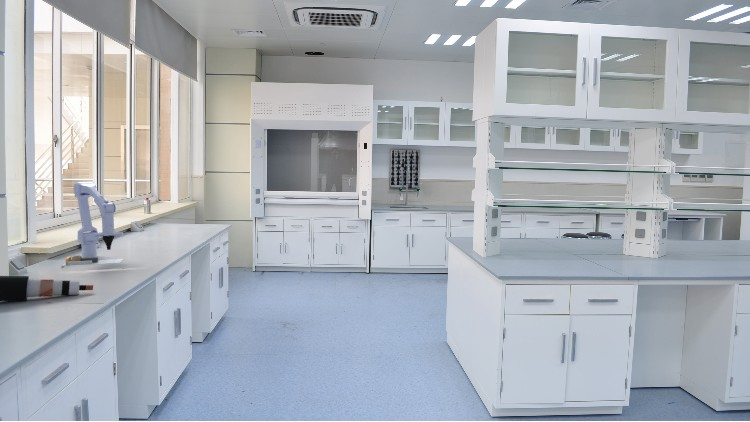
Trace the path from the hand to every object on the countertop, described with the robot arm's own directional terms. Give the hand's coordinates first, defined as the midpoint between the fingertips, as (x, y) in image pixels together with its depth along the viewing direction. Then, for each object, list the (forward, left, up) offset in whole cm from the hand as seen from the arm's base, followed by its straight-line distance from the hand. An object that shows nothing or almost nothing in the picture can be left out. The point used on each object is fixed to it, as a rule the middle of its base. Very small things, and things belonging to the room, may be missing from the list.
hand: (108, 249), depth 287 cm
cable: (+70, -13, -8) cm, 72 cm away
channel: (0, -8, -8) cm, 11 cm away
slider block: (0, -16, -6) cm, 17 cm away
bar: (0, -10, -7) cm, 12 cm away
